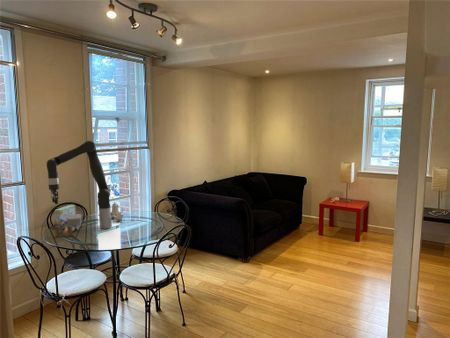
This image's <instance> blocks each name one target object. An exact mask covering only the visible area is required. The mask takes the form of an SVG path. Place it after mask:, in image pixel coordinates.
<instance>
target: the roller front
mask: <svg viewBox="0 0 450 338" xmlns="http://www.w3.org/2000/svg"><path fill="white" fill-rule="evenodd" d="M66 229H67V225H66V226H64V230H66ZM72 231H73V232H75V231H76V230H75V226H72Z"/></svg>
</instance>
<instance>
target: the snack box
mask: <svg viewBox="0 0 450 338" xmlns="http://www.w3.org/2000/svg"><path fill="white" fill-rule="evenodd" d="M73 214H76V205H75V204H68V205H65V206H63V207H62V206H61V207H59V208H57V209H54V227H55V226H60V227H61V226H63V224H64V225H67V217H68V215H73Z"/></svg>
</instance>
